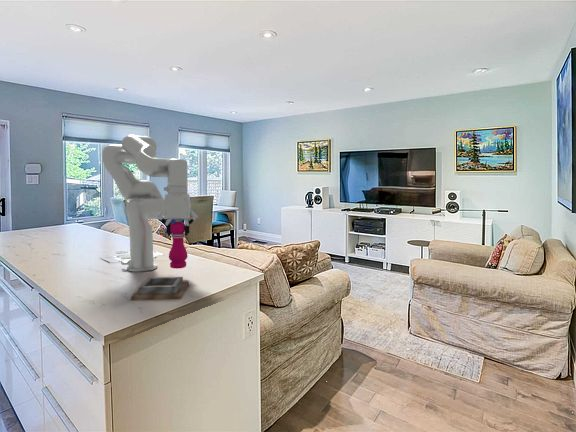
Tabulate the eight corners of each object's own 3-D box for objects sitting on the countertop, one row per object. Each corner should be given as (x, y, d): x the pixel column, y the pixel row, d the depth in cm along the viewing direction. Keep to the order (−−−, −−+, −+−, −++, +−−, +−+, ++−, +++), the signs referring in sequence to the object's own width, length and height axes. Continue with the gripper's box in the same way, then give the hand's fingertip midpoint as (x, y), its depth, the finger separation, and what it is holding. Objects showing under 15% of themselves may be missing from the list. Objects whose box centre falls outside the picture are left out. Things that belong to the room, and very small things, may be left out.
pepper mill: (182, 269, 138) (181, 219, 135) (165, 268, 139) (164, 218, 137) (190, 265, 145) (190, 217, 142) (174, 263, 146) (174, 216, 144)
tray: (168, 257, 185) (167, 250, 184) (112, 268, 165) (111, 260, 165) (151, 251, 199) (151, 245, 199) (98, 261, 179) (97, 254, 179)
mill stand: (131, 300, 116) (130, 289, 116) (145, 285, 132) (145, 276, 131) (180, 298, 118) (180, 288, 117) (188, 284, 133) (188, 275, 133)
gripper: (152, 190, 134) (153, 236, 136) (198, 191, 136) (198, 237, 138) (157, 189, 141) (158, 233, 143) (201, 190, 143) (201, 233, 145)
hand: (178, 234), depth 140 cm, fingers closed on pepper mill, 6 cm apart
